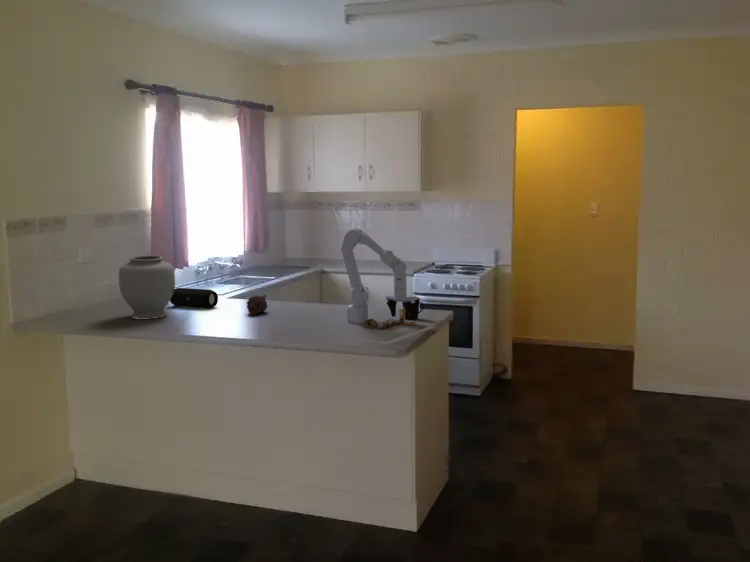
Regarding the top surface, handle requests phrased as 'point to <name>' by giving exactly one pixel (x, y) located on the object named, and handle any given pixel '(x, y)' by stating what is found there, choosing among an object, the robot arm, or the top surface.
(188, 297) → the portable speaker
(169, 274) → the grey ceramic vase
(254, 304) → the pine cone
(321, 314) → the top surface
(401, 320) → the lever
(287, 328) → the top surface
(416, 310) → the coffee mug
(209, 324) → the top surface
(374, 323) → the walnut
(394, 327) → the board
